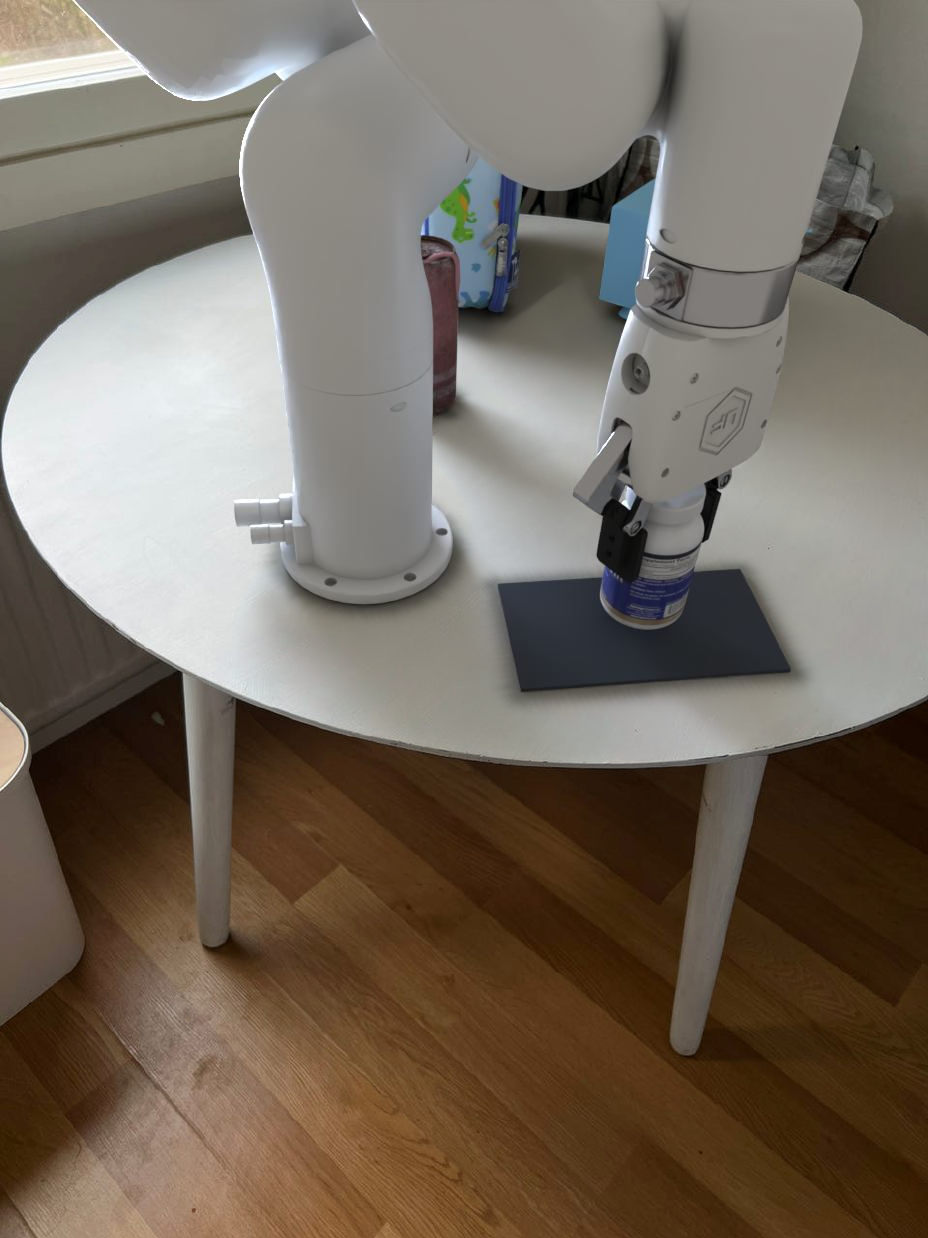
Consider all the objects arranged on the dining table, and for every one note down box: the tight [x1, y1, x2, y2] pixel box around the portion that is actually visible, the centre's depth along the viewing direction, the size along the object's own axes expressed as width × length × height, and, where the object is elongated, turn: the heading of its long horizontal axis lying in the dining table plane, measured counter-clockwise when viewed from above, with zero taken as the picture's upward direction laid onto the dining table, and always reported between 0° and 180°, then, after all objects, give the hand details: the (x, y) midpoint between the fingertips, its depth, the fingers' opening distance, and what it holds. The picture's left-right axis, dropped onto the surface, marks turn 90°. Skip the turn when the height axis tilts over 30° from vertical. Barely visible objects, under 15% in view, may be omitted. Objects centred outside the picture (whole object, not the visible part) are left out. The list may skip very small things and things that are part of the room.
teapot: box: [598, 177, 814, 320], centre depth 91 cm, size 18×16×13 cm
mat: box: [497, 568, 792, 693], centre depth 63 cm, size 18×10×1 cm, turn 97°
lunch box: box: [421, 157, 524, 313], centre depth 94 cm, size 26×11×21 cm, turn 6°
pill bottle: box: [600, 483, 706, 630], centre depth 59 cm, size 6×6×10 cm
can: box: [421, 235, 460, 418], centre depth 78 cm, size 6×6×14 cm
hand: (652, 548), depth 59 cm, fingers closed on pill bottle, 5 cm apart
